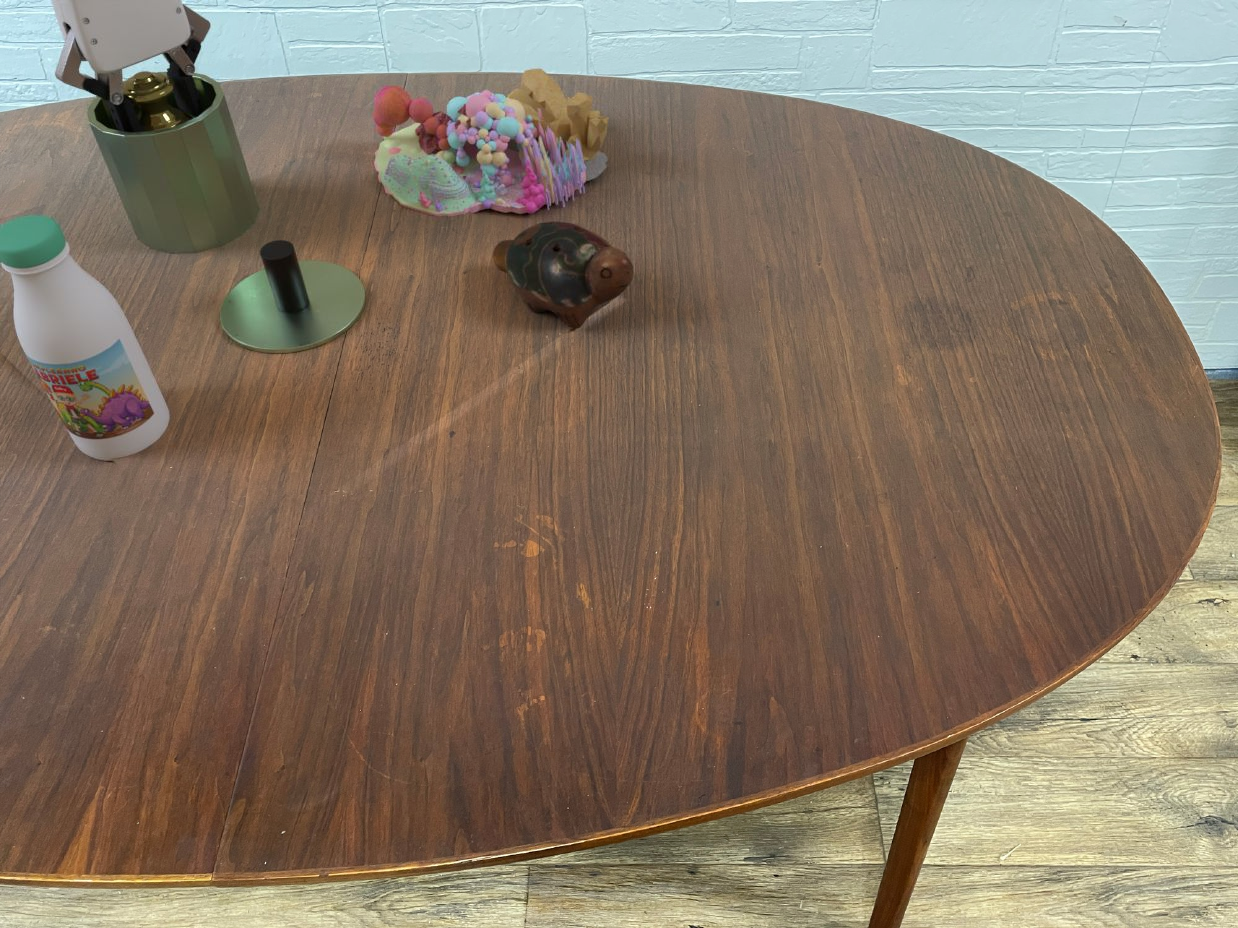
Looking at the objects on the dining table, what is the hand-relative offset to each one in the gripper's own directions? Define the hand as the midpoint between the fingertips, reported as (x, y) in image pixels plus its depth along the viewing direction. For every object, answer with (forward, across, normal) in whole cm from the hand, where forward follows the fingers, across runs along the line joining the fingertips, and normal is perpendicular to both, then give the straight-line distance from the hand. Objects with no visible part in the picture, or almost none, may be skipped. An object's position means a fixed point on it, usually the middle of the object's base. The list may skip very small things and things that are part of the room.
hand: (162, 122), depth 101 cm
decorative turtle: (+12, -16, +38) cm, 43 cm away
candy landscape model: (+12, -28, +15) cm, 34 cm away
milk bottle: (+12, +21, +22) cm, 33 cm away
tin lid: (+11, +2, +20) cm, 23 cm away
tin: (+11, 0, 0) cm, 11 cm away
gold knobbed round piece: (+5, 0, 0) cm, 5 cm away
